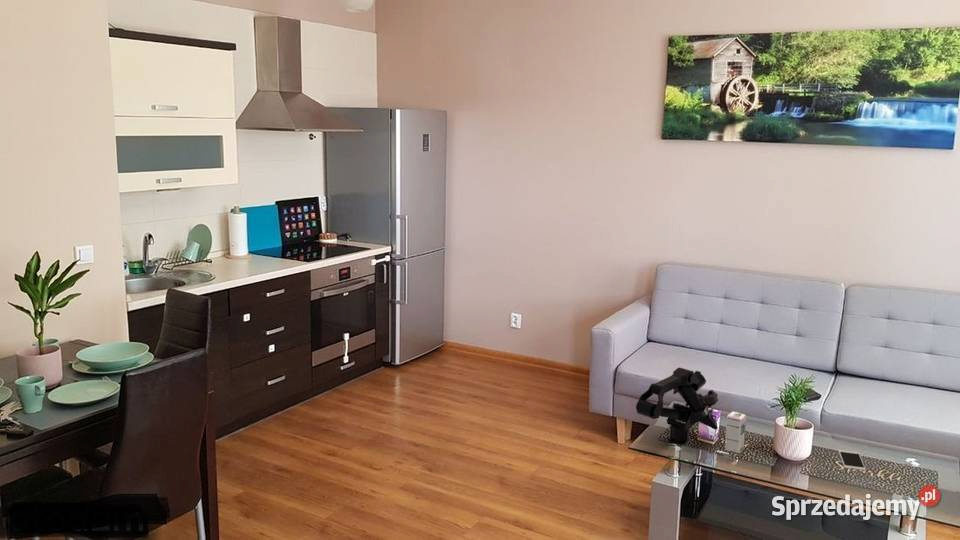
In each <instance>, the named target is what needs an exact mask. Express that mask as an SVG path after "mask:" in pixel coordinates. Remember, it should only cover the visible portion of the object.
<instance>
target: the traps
mask: <svg viewBox="0 0 960 540" xmlns="http://www.w3.org/2000/svg"><path fill="white" fill-rule="evenodd" d="M721 459H724V460H727V461H732V462H734V461H735V460H736V458H735V459H732V458H731V457H729V454H726V453H725V454H724V453H723V456H722V457H721Z"/></svg>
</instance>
